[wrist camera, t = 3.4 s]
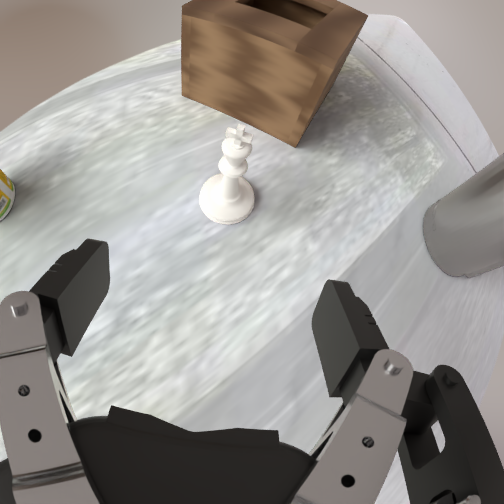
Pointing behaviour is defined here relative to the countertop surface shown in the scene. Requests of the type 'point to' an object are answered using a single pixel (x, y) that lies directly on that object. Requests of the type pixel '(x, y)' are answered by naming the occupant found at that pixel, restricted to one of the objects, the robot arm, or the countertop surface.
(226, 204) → the chess piece
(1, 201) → the supplement bottle
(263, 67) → the walnut box
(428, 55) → the countertop surface
